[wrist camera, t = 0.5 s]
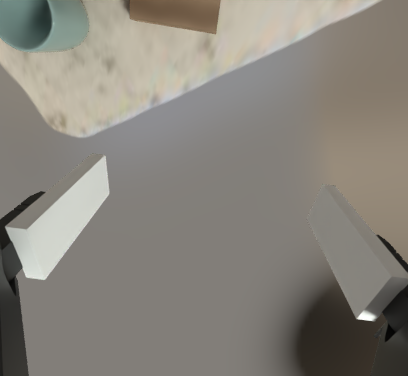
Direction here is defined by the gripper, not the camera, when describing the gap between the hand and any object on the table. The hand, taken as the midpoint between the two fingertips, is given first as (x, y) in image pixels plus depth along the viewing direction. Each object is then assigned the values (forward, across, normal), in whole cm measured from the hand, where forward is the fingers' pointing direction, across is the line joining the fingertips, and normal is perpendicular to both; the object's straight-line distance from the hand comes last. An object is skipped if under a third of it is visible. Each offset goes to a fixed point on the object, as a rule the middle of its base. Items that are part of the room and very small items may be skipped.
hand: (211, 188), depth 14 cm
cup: (+26, -22, +8) cm, 35 cm away
